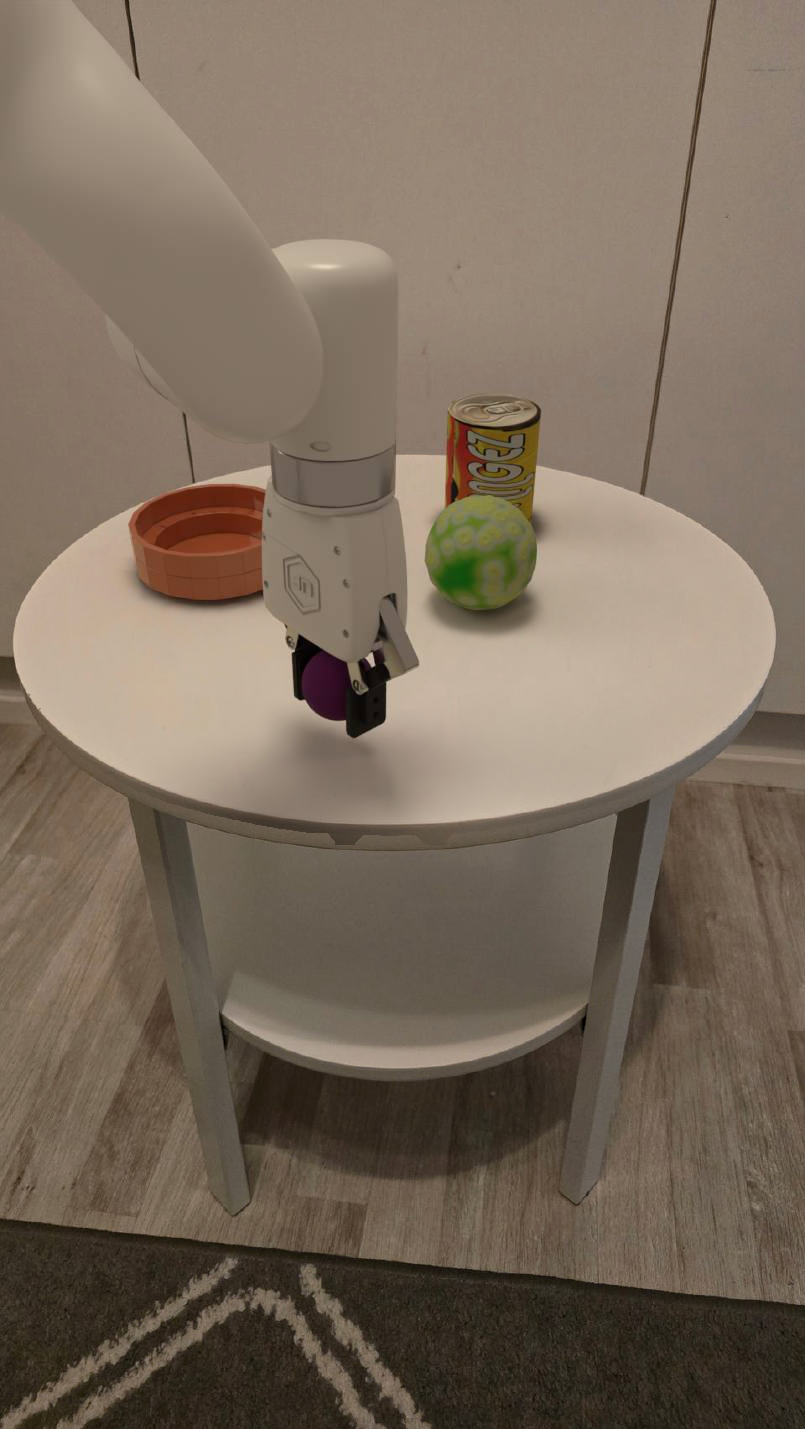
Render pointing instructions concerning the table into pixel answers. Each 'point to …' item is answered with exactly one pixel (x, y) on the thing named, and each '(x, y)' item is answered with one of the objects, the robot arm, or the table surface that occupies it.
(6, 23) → the robot arm
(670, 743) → the table surface
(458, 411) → the beverage can
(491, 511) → the decorative ball
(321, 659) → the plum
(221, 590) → the bowl
